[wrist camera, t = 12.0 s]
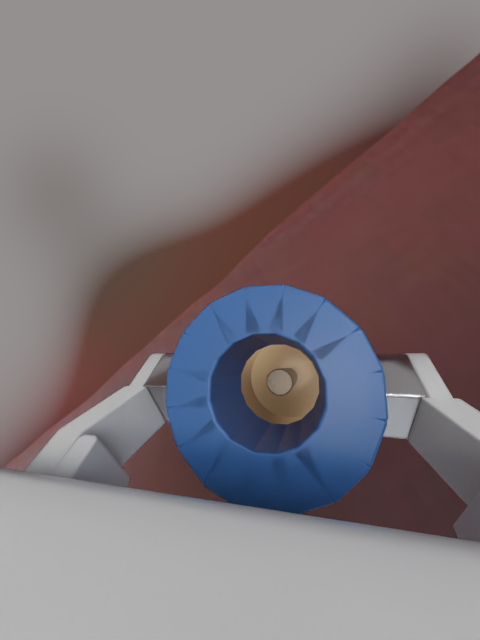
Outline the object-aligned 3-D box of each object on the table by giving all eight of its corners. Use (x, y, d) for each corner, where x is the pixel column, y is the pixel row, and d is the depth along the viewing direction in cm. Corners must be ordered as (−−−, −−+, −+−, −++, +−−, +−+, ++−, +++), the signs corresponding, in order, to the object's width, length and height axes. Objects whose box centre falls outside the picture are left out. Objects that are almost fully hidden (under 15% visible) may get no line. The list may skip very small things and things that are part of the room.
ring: (353, 307, 10) (377, 277, 6) (365, 472, 9) (399, 537, 5) (211, 313, 11) (171, 291, 8) (207, 455, 10) (158, 497, 7)
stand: (383, 329, 24) (482, 281, 10) (344, 470, 22) (401, 622, 9) (252, 295, 27) (200, 226, 14) (213, 413, 26) (116, 462, 13)
